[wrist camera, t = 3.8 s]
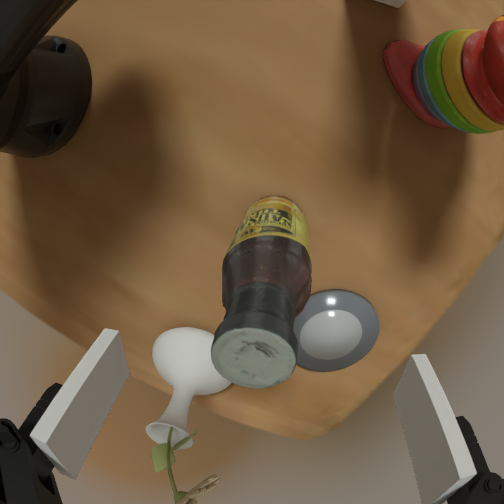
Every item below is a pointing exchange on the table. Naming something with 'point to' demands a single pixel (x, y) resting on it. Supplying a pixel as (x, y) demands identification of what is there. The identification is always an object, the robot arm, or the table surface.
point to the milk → (393, 2)
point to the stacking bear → (453, 78)
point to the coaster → (335, 330)
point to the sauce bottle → (263, 294)
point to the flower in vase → (182, 398)
